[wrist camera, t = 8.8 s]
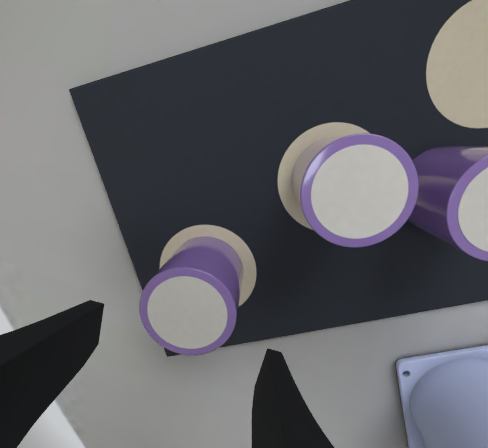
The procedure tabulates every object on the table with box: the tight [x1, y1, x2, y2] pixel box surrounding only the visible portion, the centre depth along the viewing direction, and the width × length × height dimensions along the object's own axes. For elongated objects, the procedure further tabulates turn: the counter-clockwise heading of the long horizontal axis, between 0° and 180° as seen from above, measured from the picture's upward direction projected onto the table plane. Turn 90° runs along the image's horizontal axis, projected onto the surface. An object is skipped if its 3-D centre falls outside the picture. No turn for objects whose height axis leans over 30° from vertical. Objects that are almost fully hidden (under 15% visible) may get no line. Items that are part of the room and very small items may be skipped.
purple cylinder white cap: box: [407, 146, 488, 261], centre depth 15 cm, size 5×5×5 cm
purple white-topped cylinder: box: [291, 133, 418, 247], centre depth 15 cm, size 5×5×5 cm
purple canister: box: [140, 236, 244, 355], centre depth 17 cm, size 5×5×5 cm
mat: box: [69, 0, 488, 357], centre depth 18 cm, size 19×28×1 cm
